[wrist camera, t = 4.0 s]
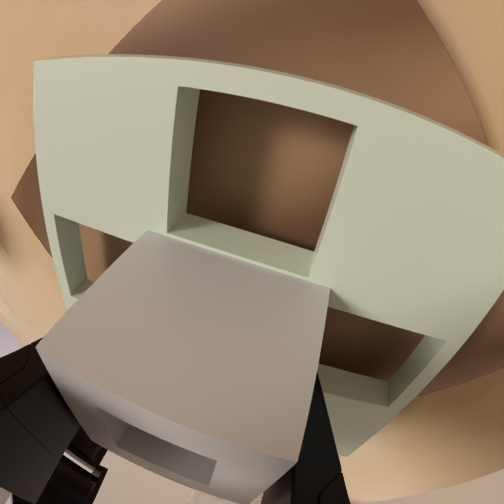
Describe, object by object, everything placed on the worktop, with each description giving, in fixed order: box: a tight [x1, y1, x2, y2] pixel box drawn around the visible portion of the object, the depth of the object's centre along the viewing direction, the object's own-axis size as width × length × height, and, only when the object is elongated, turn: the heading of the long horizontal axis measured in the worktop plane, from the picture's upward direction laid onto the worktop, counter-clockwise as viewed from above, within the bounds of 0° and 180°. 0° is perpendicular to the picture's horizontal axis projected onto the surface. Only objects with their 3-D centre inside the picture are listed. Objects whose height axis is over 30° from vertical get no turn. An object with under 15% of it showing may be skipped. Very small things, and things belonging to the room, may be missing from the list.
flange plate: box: [33, 54, 504, 504], centre depth 8 cm, size 14×14×6 cm
